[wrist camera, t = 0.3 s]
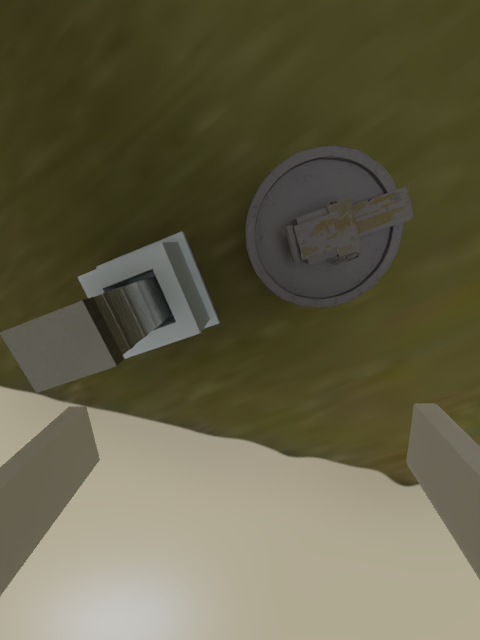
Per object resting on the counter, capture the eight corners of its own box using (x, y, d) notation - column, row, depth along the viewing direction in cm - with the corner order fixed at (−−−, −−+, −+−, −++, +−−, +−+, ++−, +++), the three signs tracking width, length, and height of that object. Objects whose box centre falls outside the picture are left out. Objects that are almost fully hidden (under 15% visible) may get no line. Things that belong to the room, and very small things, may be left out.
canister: (267, 287, 37) (272, 337, 18) (243, 208, 35) (217, 172, 16) (349, 260, 35) (449, 286, 16) (329, 175, 33) (418, 89, 14)
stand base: (99, 266, 38) (54, 273, 30) (183, 231, 36) (160, 229, 28) (140, 348, 41) (109, 376, 33) (220, 321, 39) (208, 343, 31)
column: (127, 286, 38) (-1, 332, 20) (173, 269, 37) (81, 299, 18) (143, 320, 39) (36, 393, 21) (188, 304, 38) (116, 366, 20)
